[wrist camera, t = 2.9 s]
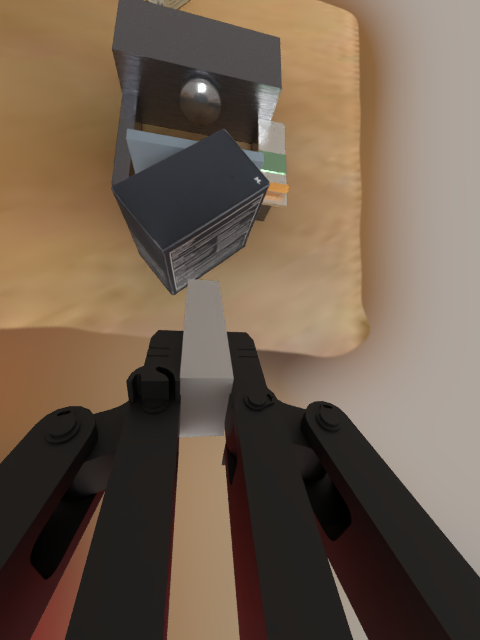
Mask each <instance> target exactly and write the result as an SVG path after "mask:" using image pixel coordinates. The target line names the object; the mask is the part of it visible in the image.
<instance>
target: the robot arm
mask: <svg viewBox="0 0 480 640" xmlns="http://www.w3.org/2000/svg"><path fill="white" fill-rule="evenodd" d="M126 382H127V390H128V397H129V401H128V402H126V403H124V404H123V405H121V406H119V407H116V408H113V409H111V410H107V411H104V412H100V413H96V414H93V413H92V412H91V411H90V410H89V409H86V408H83V407H81V406H69V407H65V408H62V409H58V410H56V411H54V412H52V413H50V414H48V415H46V416H45V417H44V418H43V419H42V420H40V421H39V422H38V423H37V424H36V425H35V426H34V427H33V428H32V429H31V430H30V431H29V432H28V434H27V435H26V436H25V437H24V438H23V439H22V440H21V441H20V442H19V444H18V445H17V446H16V447H15V448H14V449H13V450H12V451H11V453H10V454H9V455H8V456H7V457H6V458H5V459H4V460H3V461H2V463H1V464H0V640H30V639H31V637H32V635H33V633H34V631H35V629H36V627H37V625H38V623H39V621H40V619H41V617H42V615H43V613H44V611H45V609H46V607H47V605H48V603H49V601H50V599H51V597H52V595H53V593H54V591H55V589H56V587H57V585H58V583H59V581H60V579H61V577H62V575H63V573H64V571H65V569H66V567H67V565H68V563H69V561H70V559H71V557H72V555H73V553H74V551H75V549H76V547H77V545H78V543H79V541H80V539H81V538H82V536H83V533H84V532H85V530H86V528H87V525H88V524H89V522H90V520H91V518H92V516H93V514H94V512H95V510H96V508H97V506H98V504H99V502H100V500H101V498H102V496H103V494H104V492H105V494H104V498H103V502H102V505H101V509H100V512H99V516H98V520H97V524H96V527H95V531H94V535H93V538H92V542H91V546H90V549H89V553H88V556H87V560H86V564H85V568H84V571H83V575H82V579H81V582H80V586H79V590H78V593H77V597H76V601H75V605H74V608H73V612H72V615H71V619H70V623H69V626H68V630H67V634H66V637H65V640H167V629H168V613H169V597H170V581H171V566H172V549H173V533H174V517H175V502H176V487H177V471H178V455H179V437H196V436H222V435H224V430H225V435H226V444H225V449H224V454H223V461H222V465H225V466H226V478H227V490H228V502H229V514H230V526H231V538H232V551H233V562H234V575H235V586H236V598H237V611H238V622H239V635H240V640H353V638H352V635H351V631H350V628H349V625H348V622H347V619H346V616H345V612H344V610H343V606H342V603H341V600H340V597H339V593H338V590H337V587H336V584H335V581H334V577H333V575H332V571H331V568H330V565H329V562H328V559H329V561H330V563H331V565H332V567H333V569H334V571H335V573H336V575H337V577H338V579H339V581H340V583H341V585H342V587H343V589H344V591H345V593H346V595H347V597H348V599H349V601H350V603H351V605H352V607H353V609H354V611H355V613H356V615H357V617H358V620H359V622H360V623H361V625H362V627H363V630H364V632H365V633H366V636H367V638H368V640H480V577H479V576H478V575H477V574H476V572H475V571H474V570H473V569H472V568H471V566H470V565H469V564H468V563H467V561H466V560H465V559H464V558H463V556H462V555H461V554H460V553H459V552H458V551H457V549H456V548H455V547H454V546H453V544H452V543H451V542H450V541H449V539H448V538H447V537H446V536H445V535H444V533H443V532H442V531H441V530H440V529H439V527H438V526H437V525H436V524H435V522H434V521H433V520H432V519H431V518H430V516H429V515H428V514H427V513H426V511H425V510H424V509H423V508H422V507H421V505H420V504H419V503H418V502H417V501H416V499H415V498H414V497H413V496H412V494H411V493H410V492H409V491H408V490H407V488H406V487H405V486H404V485H403V483H402V482H401V481H400V480H399V479H398V477H397V476H396V475H395V474H394V472H393V471H392V470H391V469H390V468H389V466H388V465H387V464H386V463H385V461H384V460H383V459H382V458H381V457H380V455H379V454H378V453H377V452H376V451H375V449H374V448H373V447H372V446H371V444H370V443H369V442H368V441H367V440H366V438H365V437H364V436H363V435H362V434H361V433H360V431H359V430H358V429H357V427H356V426H355V425H354V424H353V423H352V421H351V420H350V419H349V418H348V416H347V415H346V414H345V413H344V412H343V411H342V410H341V409H339V408H338V407H336V406H335V405H333V404H331V403H327V402H324V401H317V402H313V403H311V404H309V405H308V407H307V409H302V408H299V407H295V406H291V405H288V404H285V403H283V402H281V401H279V400H278V399H277V398H276V396H275V395H274V393H273V392H271V391H270V390H269V389H268V388H267V386H266V383H265V379H264V375H263V372H262V369H261V365H260V362H259V359H258V355H257V351H256V348H255V344H254V341H253V339H252V338H251V337H250V336H249V335H248V334H247V333H245V332H227V331H226V325H225V319H224V312H223V306H222V299H221V293H220V286H219V281H209V280H195V279H188V286H187V298H186V310H185V322H184V331H169V330H158V331H157V332H156V333H155V334H154V335H153V336H152V338H151V340H150V344H149V349H148V352H147V357H146V360H145V364H144V366H142V367H140V368H138V369H136V370H135V371H134V372H132V373H131V374H130V376H129V378H128V379H127V381H126ZM327 557H328V558H327Z"/></svg>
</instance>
